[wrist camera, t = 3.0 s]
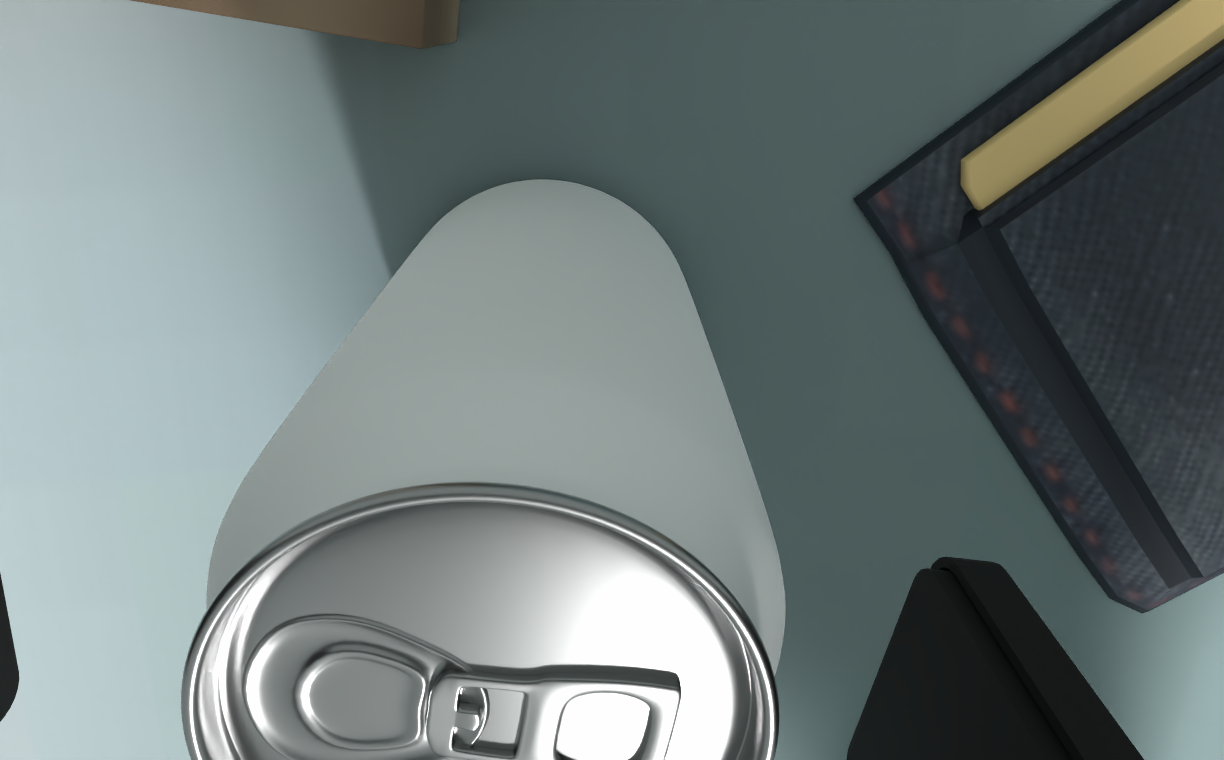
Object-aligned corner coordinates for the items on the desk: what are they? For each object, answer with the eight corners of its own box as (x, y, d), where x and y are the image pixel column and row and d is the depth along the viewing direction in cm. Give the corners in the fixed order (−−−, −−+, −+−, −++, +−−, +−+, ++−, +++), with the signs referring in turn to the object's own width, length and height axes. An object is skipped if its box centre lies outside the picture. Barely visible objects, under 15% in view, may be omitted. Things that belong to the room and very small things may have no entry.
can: (415, 148, 17) (107, 383, 6) (718, 202, 18) (920, 503, 7) (392, 423, 20) (144, 933, 9) (658, 462, 20) (736, 986, 9)
